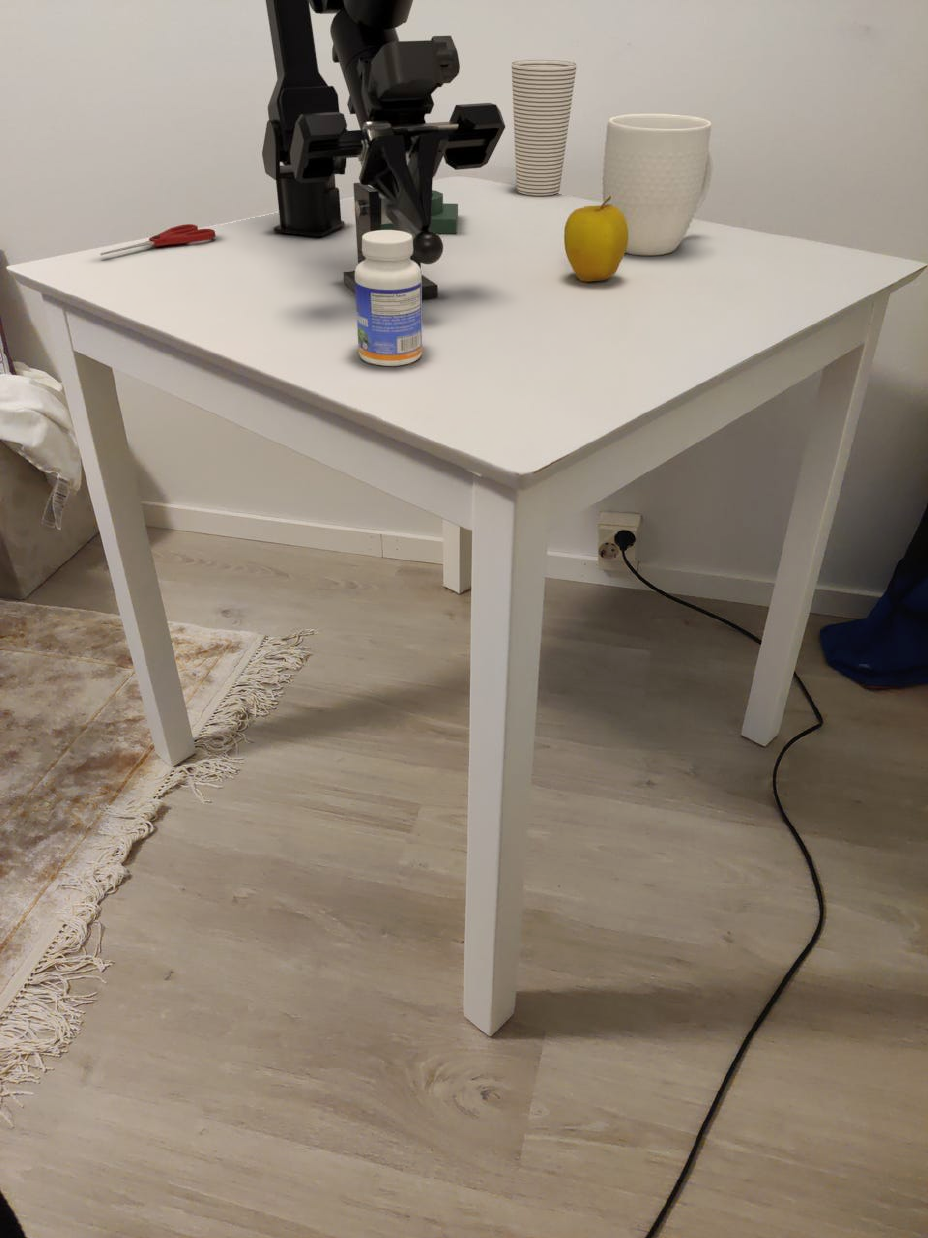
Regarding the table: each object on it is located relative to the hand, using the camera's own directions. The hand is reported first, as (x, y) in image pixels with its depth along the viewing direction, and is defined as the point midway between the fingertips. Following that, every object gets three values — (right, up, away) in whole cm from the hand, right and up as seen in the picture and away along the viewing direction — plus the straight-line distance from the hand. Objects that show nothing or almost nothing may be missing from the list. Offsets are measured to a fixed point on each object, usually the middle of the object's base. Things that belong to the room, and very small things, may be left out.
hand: (425, 227), depth 83 cm
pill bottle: (-3, -12, -3) cm, 13 cm away
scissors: (-32, +8, +25) cm, 41 cm away
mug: (+25, +8, +26) cm, 37 cm away
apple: (+17, +1, +16) cm, 23 cm away
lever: (-2, +1, +5) cm, 6 cm away
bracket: (-4, -1, +12) cm, 13 cm away
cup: (+14, +25, +50) cm, 57 cm away
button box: (-2, +14, +34) cm, 37 cm away
